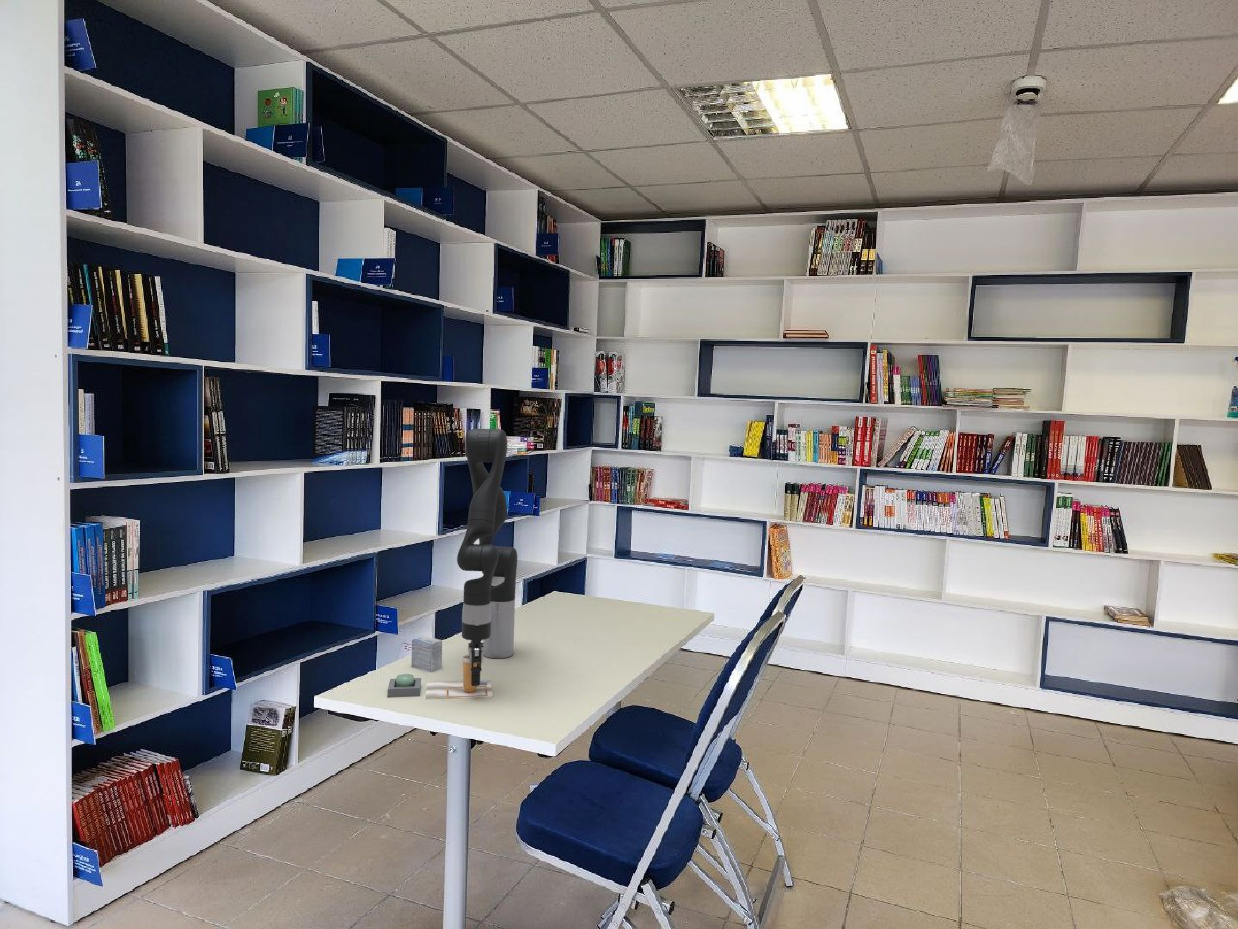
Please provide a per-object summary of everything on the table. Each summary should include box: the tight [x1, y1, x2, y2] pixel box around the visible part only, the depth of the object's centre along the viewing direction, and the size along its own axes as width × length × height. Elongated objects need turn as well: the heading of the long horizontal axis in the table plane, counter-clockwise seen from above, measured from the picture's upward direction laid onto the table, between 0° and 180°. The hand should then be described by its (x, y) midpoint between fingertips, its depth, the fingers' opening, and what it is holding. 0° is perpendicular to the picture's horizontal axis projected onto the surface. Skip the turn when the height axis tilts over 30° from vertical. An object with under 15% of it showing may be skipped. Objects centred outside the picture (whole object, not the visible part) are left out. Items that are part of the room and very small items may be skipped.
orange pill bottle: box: [462, 654, 477, 692], centre depth 212 cm, size 4×4×9 cm
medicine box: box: [411, 635, 443, 673], centre depth 230 cm, size 8×4×9 cm, turn 60°
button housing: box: [387, 677, 422, 698], centre depth 210 cm, size 8×8×2 cm
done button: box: [395, 673, 415, 687], centre depth 210 cm, size 4×4×2 cm
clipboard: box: [425, 679, 494, 700], centre depth 213 cm, size 14×19×1 cm
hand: (475, 680), depth 212 cm, fingers open, 8 cm apart
